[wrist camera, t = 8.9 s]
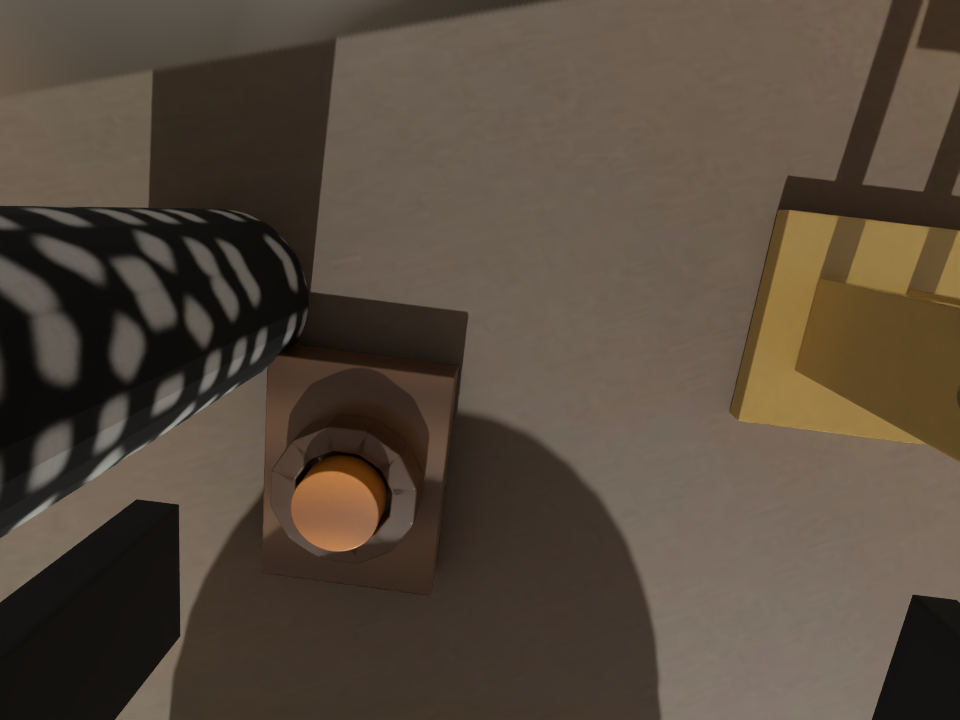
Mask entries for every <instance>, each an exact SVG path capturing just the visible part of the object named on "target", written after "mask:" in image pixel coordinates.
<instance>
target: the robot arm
mask: <svg viewBox="0 0 960 720" xmlns="http://www.w3.org/2000/svg"><path fill="white" fill-rule="evenodd" d="M179 637H180V573H179V505H178V504H169V503H161V502H153V501H145V500H135V501H134V502H133V503H131V504H130V505H129V506H127V507H126V508H125V509H123V510H122V511H121V512H119V513H118V514H117V515H115V516H114V517H113V518H111V519H110V520H109V521H108V522H106V523H105V524H104V525H102V526H101V527H100V528H98V529H97V530H96V531H94V532H93V533H92V534H90V535H89V536H88V537H86V538H85V539H84V540H82V541H81V542H80V543H78V544H77V545H76V546H74V547H73V548H72V549H70V550H69V551H68V552H66V553H65V554H64V555H63V556H61V557H60V558H59V559H57V560H56V561H55V562H53V563H52V564H51V565H49V566H48V567H47V568H45V569H44V570H43V571H41V572H40V573H39V574H37V575H36V576H35V577H33V578H32V579H31V580H29V581H28V582H27V583H25V584H24V585H23V586H21V587H20V588H19V589H18V590H16V591H15V592H14V593H12V594H11V595H10V596H8V597H7V598H6V599H4V600H3V601H2V602H0V720H115V719H116V718H117V716H118V715H119V714H120V712H121V711H122V710H123V709H124V707H125V706H126V705H127V703H128V702H129V701H130V700H131V698H132V697H133V696H134V694H135V693H136V692H137V691H138V689H139V688H140V687H141V686H142V684H143V683H144V682H145V680H146V679H147V678H148V677H149V675H150V674H151V673H152V671H153V670H154V669H155V668H156V666H157V665H158V664H159V663H160V661H161V660H162V659H163V657H164V656H165V655H166V654H167V652H168V651H169V650H170V648H171V647H172V646H173V645H174V643H175V642H176V641H177V640H178V638H179ZM872 720H960V603H959V602H958V601H957V600H952V599H944V598H936V597H928V596H919V595H913V596H912V599H911V602H910V605H909V608H908V611H907V614H906V617H905V620H904V623H903V626H902V629H901V632H900V635H899V638H898V641H897V644H896V648H895V651H894V654H893V657H892V660H891V663H890V666H889V669H888V672H887V675H886V678H885V681H884V684H883V687H882V690H881V693H880V696H879V699H878V702H877V706H876V709H875V712H874V715H873V718H872Z"/></svg>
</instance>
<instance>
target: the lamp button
mask: <svg viewBox="0 0 960 720" xmlns="http://www.w3.org/2000/svg"><path fill="white" fill-rule="evenodd" d="M386 500H387V494H386V488H385V485H384V482H383V480H382V478H381V476H380V475H379V473H378V472H377V471H376V470H375V469H374V468H373V467H372V466H371V465H370V464H368V463H367V462H365V461H363V460H361V459H359V458H356V457H353V456H348V455H335V456H330V457H327V458H325V459H323V460H321V461H319V462H318V463H316V464H315V465H314V466H313V467H312V468H311V469H310V470H309V472H308V473H307V474H306V476H305V477H304V478H303V479H302V481H301V482H300V483H299V485H298V486H297V487H296V489H295V491H294V493H293V495H292V499H291V515H292V519H293V522H294V524H295V526H296V528H297V529H298V531H299V532H300V534H301V535H302V536H303V537H304V538H305V539H306V540H308V541H309V542H310V543H312V544H314V545H315V546H317V547H320V548H322V549H325V550H330V551H347V550H351V549H354V548H357V547H359V546H361V545H362V544H364V543H365V542H366V541H368V540H369V538H370V537H371V536H372V535H373V533H374V532H375V530H376V528H377V525H378V523H379V521H380V518H381V516H382V514H383V511H384V509H385V506H386Z"/></svg>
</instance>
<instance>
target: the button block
mask: <svg viewBox="0 0 960 720" xmlns="http://www.w3.org/2000/svg"><path fill="white" fill-rule="evenodd" d="M458 372H459V366H456V365H448V364H440V363H433V362H425V361H417V360H409V359H402V358H394V357H386V356H378V355H370V354H363V353H355V352H347V351H339V350H332V349H324V348H316V347H308V346H301V345H293V346H291V347H290V348H288V349H286V350H285V351H283V352H281V353H280V354H278V356H277V357H276V358H275V360H274V361H273V362H272V363H271V364H270V365H269V366H268V367H267V401H266V436H265V471H264V506H263V541H262V573H268V574H275V575H282V576H289V577H297V578H304V579H311V580H319V581H326V582H333V583H341V584H348V585H355V586H363V587H370V588H377V589H384V590H392V591H399V592H406V593H414V594H421V595H428V596H429V595H431V591H432V587H433V582H434V577H435V572H436V565H437V556H438V547H439V538H440V530H441V521H442V512H443V503H444V495H445V486H446V477H447V468H448V460H449V451H450V442H451V433H452V425H453V416H454V407H455V398H456V389H457V381H458ZM335 455H348V456H353V457H356V458H359V459H361V460H363V461H365V462H367V463H368V464H370V465H371V466H372V467H373V468H374V469H375V470H376V471H377V472H378V473H379V475H380V476H381V478H382V480H383V482H384V485H385V488H386V494H387V500H386V506H385V509H384V511H383V514H382V516H381V518H380V521H379V523H378V525H377V528H376V530H375V532H374V533H373V535H372V536H371V537H370V538H369V540H368V541H366V542H365V543H364V544H362V545H361V546H359V547H357V548H354V549H351V550H347V551H330V550H325V549H322V548H320V547H317V546H315V545H314V544H312V543H310V542H309V541H308V540H306V539H305V538H304V537H303V536H302V535H301V534H300V532H299V531H298V529H297V528H296V526H295V524H294V522H293V519H292V515H291V499H292V495H293V493H294V491H295V489H296V487H297V486H298V485H299V483H300V482H301V481H302V479H303V478H304V477H305V476H306V474H307V473H308V472H309V470H310V469H311V468H312V467H313V466H314V465H315V464H316V463H318V462H319V461H321V460H323V459H325V458H327V457H330V456H335Z"/></svg>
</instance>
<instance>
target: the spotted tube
mask: <svg viewBox="0 0 960 720" xmlns="http://www.w3.org/2000/svg"><path fill="white" fill-rule="evenodd" d="M308 307H309V305H308V288H307V283H306V279H305V274H304V272H303V269H302V267H301V265H300V262H299V260H298V258H297V256H296V255H295V253H294V252H293V250H292V249H291V247H290V246H289V244H288V243H287V242H286V241H285V240H284V239H283V238H282V237H281V236H280V235H279V234H278V233H277V232H276V231H275V230H274V229H272V228H271V227H270V226H268V225H267V224H265V223H264V222H263V221H261V220H259V219H257V218H255V217H252V216H250V215H248V214H246V213H242V212H238V211H234V210H229V209H197V208H118V207H39V206H0V538H1V537H3V536H4V535H6V534H8V533H9V532H11V531H12V530H14V529H15V528H17V527H19V526H20V525H22V524H23V523H25V522H26V521H28V520H29V519H31V518H33V517H34V516H36V515H37V514H39V513H40V512H42V511H44V510H45V509H47V508H48V507H50V506H51V505H53V504H55V503H56V502H58V501H59V500H61V499H62V498H64V497H66V496H67V495H69V494H70V493H72V492H73V491H75V490H77V489H78V488H80V487H81V486H83V485H84V484H86V483H88V482H89V481H91V480H92V479H94V478H95V477H97V476H99V475H100V474H102V473H103V472H105V471H106V470H108V469H110V468H111V467H113V466H114V465H116V464H117V463H119V462H121V461H122V460H124V459H125V458H127V457H128V456H130V455H132V454H133V453H135V452H136V451H138V450H139V449H141V448H143V447H144V446H146V445H147V444H149V443H150V442H152V441H153V440H155V439H157V438H158V437H160V436H161V435H163V434H164V433H166V432H168V431H169V430H171V429H172V428H174V427H175V426H177V425H179V424H180V423H182V422H183V421H185V420H186V419H188V418H190V417H191V416H193V415H194V414H196V413H197V412H199V411H201V410H202V409H204V408H205V407H207V406H208V405H210V404H212V403H213V402H215V401H216V400H218V399H219V398H221V397H223V396H224V395H226V394H227V393H229V392H230V391H232V390H234V389H235V388H237V387H238V386H240V385H241V384H243V383H245V382H246V381H248V380H249V379H251V378H252V377H254V376H256V375H257V374H259V373H260V372H262V371H263V370H265V369H266V368H267V367H268V366H269V365H270V364H271V363H272V362H273V361H274V360H275V358H276V357H277V356H278V354H280V353H281V352H283V351H285V350H286V349H288V348H290V347H291V346H293V345H295V343H296V342H297V340H298V339H299V338H300V336H301V333H302V331H303V328H304V326H305V323H306V318H307V313H308Z"/></svg>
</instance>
